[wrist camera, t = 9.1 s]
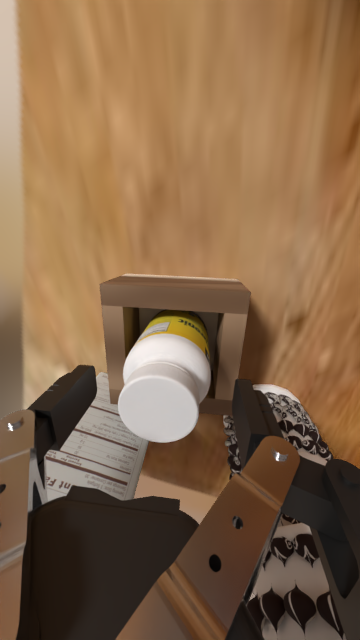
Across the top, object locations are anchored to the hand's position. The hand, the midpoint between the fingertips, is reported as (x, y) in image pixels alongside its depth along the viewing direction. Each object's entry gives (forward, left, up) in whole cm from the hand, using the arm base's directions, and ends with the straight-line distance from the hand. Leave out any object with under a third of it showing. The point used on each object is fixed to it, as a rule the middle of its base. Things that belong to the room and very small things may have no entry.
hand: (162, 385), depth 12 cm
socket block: (0, 0, -9) cm, 9 cm away
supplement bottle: (0, 0, -8) cm, 8 cm away
